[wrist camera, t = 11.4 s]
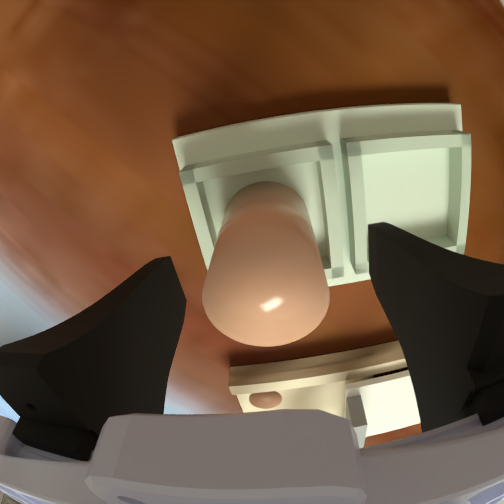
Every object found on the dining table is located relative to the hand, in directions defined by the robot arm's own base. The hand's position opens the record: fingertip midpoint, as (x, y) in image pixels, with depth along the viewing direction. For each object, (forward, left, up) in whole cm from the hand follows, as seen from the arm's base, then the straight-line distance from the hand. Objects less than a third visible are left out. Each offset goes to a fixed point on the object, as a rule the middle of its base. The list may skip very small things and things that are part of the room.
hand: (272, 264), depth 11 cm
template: (-4, +16, -5) cm, 17 cm away
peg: (0, 0, -4) cm, 4 cm away
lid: (-8, +16, -3) cm, 18 cm away
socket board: (-3, 0, -5) cm, 6 cm away
